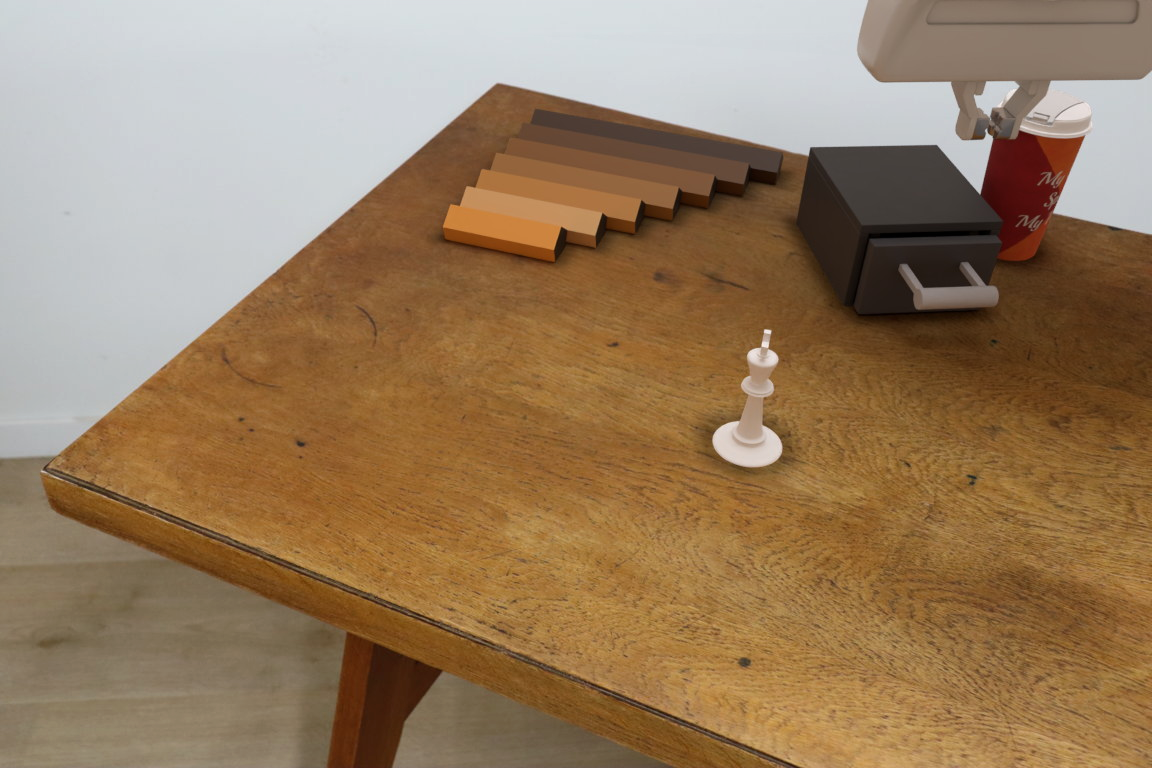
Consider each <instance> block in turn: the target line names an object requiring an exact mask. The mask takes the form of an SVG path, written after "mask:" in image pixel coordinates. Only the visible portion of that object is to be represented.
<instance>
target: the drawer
mask: <svg viewBox="0 0 1152 768" xmlns="http://www.w3.org/2000/svg"><path fill="white" fill-rule="evenodd" d="M978 232H979V230H977V231H942V232H907V233H872V234H869V237H868V241H867V245H866V250H865V254H864V258H863V263H862V267H861V271H860V275H859V280H858V284H857V288H856V293H857V294H856V298H855V302H854V305H853V308H854V310H855V312H856V313H857V315H875V314H876V315H877V314H878V315H879V314H903V313H904V314H905V313H925V312H926V313H927V312H930V313H931V312H955V311H956V312H958V311H980V310H981V309H982V308H994V307H996V306H997V305H998V303H999V298H1000V297H999V296H1000V293H999V290H998V288H997V286H995V285H990V282H991V280H992V279H991V278H992V276H993V273H994V270H995V266H996V263H997V260H998V258H997V257H998V254H999V251H1000V248H1001V245H1002V242H1001V241H1000V239H999V238H998V237H997V236H996V235H981V236H977V235H978Z"/></svg>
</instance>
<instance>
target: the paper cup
mask: <svg viewBox="0 0 1152 768" xmlns="http://www.w3.org/2000/svg"><path fill="white" fill-rule="evenodd" d="M1018 88H1019V87H1017V88H1014V89H1011V90H1010V91H1008V93H1007V94H1005V96H1004V99H1003V100H1002V101H1001V102H1000V103H999V104H997V106H996V107H1003V106H1004V105H1005V104H1006V103H1007V101H1008V100H1009V99H1010V98H1011V96H1012V95H1013V94H1014V93H1015V91H1016V90H1017V89H1018ZM1092 115H1093V112H1092V107H1091V106H1090V105H1089V104H1088V102H1086V101H1084V100H1083V99H1081V98H1079V97H1077V96H1075V95H1073V94H1071V93H1068V92H1065V91H1060V90H1057V89H1052V88H1048V91H1047V94H1046V96H1045V97H1044V98H1043V99H1042V100H1041V101H1040V102H1039V103H1038V104H1037V105H1036V106H1035V107H1034V108H1033V110H1032V111H1031V112H1030V113H1029V114H1028V115H1027V116H1026V117H1025V118H1023V119H1022V123H1021V126H1020V129H1019V132H1018V136H1017V137H1016V139H1009V140H994V139H993V138H992V143H991V145H990V150H989V154H988V159H987V162H986V163H987V164H986V168H985V172H984V175H983V181H982V185H981V189H980V193H979V194H980V195H981V196H982V197H983V199H984V200H985V201H986V202H987V203H988V204H989V205H990V207H991V208H992V209H993V210H994V211H995V212H996V214H997V215H998V216H999V217H1000V218H1001V219H1002V220H1003V224H1002V227H1001V230H1000V233H999V236H998V238H999V239H1000V241H1001V242H1002V245H1001V248H1000V251H999V254H998V257H997V260H1001V261H1002V260H1003V261H1008V262H1009V261H1011V262H1019V261H1027V260H1029V259H1031V258H1033V257H1034V256H1035V255H1036V253H1037V252H1038V248H1039V246H1040V244H1041V242H1042V241H1043V240H1042V239H1043V237H1044V235H1045V232H1046V231H1047V228H1048V226H1049V223H1050V221H1051V218H1052V216H1053V214H1054V212H1055V209H1056V207H1057V204H1058V202H1059V199H1060V198H1061V195H1062V193H1063V190H1064V187H1065V185H1066V183H1067V181H1068V178H1069V176H1070V173H1071V171H1072V169H1073V167H1074V163H1075V161H1076V159H1077V156H1078V154H1079V152H1080V149H1081V147H1082V144H1083V142H1084V140H1085V138H1086V135H1089V134H1090V133H1091V132H1092V131H1093V129H1094V124H1093V120H1092Z"/></svg>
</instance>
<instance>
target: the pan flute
mask: <svg viewBox="0 0 1152 768" xmlns="http://www.w3.org/2000/svg"><path fill="white" fill-rule="evenodd" d="M783 161H784V154H783V152H782V151H776V150H772V149H765V148H760V147H754V146H749V145H743V144H737V143H732V142H727V141H721V140H715V139H708V138H703V137H699V136H693V135H686V134H682V133H681V134H680V133H676V132H669V131H664V130H658V129H652V128H648V127H641V126H636V125H631V124H624V123H619V122H613V121H608V120H601V119H595V118H591V117H585V116H580V115H579V116H578V115H573V114H569V113H562V112H556V111H551V110H545V109H541V108H540V109H539V108H534V110H533V113H532V117H531V120H530V123H527V122H522V124H521V126H520V130H519V133H518V135H517V137H509V139H508V142H507V145H506V147H505V151H504V153H500V152H495V155H494V158H493V161H492V164H491V167H490V169H485V168H481V170H480V173H479V176H478V179H477V181H476V185H475V187H473V186H470V185H469V186H468V185H466V186H465V190H464V192H463V195H462V199H461V202H460V204H459V205H456V204H452V203H450V205H449V208H448V211H447V213H446V216H445V219H444V222H443V225H442V230H443V234H444V235H443V236H444V240H447V241H451V242H456V243H461V244H466V245H471V246H475V247H481V248H485V249H490V250H493V251H500V252H503V253H509V254H514V255H518V256H524V257H528V258H531V259H532V258H534V259H538V260H543V261H547V262H552V263H556V262H557V260H558V259H559V257H560V256H561V254H562V253H563V252H564V250H565V248H566V243H570V244H575V245H579V246H585V247H589V248H593V249H594V248H595V249H597V247H598V246H599V244H600V243H601V241H602V239H603V237H604V236H605V234H606V229H608V230H612V231H618V232H623V233H628V234H633V235H636V233H637V232H638V230H639V228H640V227H641V225H642V223H643V221H644V216H645V217H650V218H656V219H659V220H660V219H661V220H666V221H669V222H670V221H671V222H673V221H674V219H675V218H676V215H677V213H678V212H679V209H680V206H681V204H683V205H688V206H694V207H699V208H704V209H709V208H710V206H711V204H712V202H713V200H714V198H715V194H716V192H718V193H724V194H729V195H734V196H739V197H743V196H744V194H745V192H746V189H747V188H748V185H749V181H753V182H760V183H764V184H770V185H777V182H778V179H779V177H780V175H781V171H782V166H783Z"/></svg>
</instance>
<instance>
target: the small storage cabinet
mask: <svg viewBox="0 0 1152 768" xmlns="http://www.w3.org/2000/svg"><path fill="white" fill-rule="evenodd" d="M800 195H801V196H800V199H799V206H798V210H797V216H796V222H795V223H796V225H797V227H798V229H799V230H800V232H801V233H802V234H801V235H802V236H803V238H804V239H805V241H806V243H807V245H808V247H809V248H810V250H811V251H812V253H813V255H814V257H815V259H816V260H817V262H818V264H819V265H820V267H821V269H822V271H823V272H824V274H825V276H826V278H827V279H828V281H829V283H830V285H831V286H832V288H833V290H834V292H835V294H836V295H837V297H838V299H839V301H840V302H841V303H842V305H843V306H846V307H847V306H849V307H850V306H854V302H855V298H856V294H857V293H856V288H857V284H858V280H859V275H860V271H861V267H862V263H863V258H864V254H865V250H866V245H867V241H868V237H869V234H872V233H907V232H942V231H977V230H979V232H978V235H977V236H981V235H996V236H997V237H998V236H999V233H1000V230H1001V227H1002V224H1003V220H1002V219H1001V218H1000V217H999V216H998V215H997V214H996V212H995V211H994V210H993V209H992V208H991V207H990V205H989V204H988V203H987V202H986V201H985V200H984V199H983V197H982V196H981V195H980V193H979V192H978V190H977V189H976V188H975V187H974V186H973V184H972V183H970V181H969V180H968V179H967V177H965V175H964V174H963V173H962V172H961V171H960V170H959V169H958V167H957V166H956V165H955V164H954V163H953V161H952V160H951V159H950V158H949V157H948V156H947V155H946V154H945V152H944V151H943V150H942V149H941V148H940V147H939V145H937V144H915V145H914V144H910V145H908V144H907V145H903V144H902V145H858V146H857V145H854V146H850V145H849V146H810V147H809V152H808V158H807V164H806V169H805V173H804V177H803V183H802V190H801V193H800Z"/></svg>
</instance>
